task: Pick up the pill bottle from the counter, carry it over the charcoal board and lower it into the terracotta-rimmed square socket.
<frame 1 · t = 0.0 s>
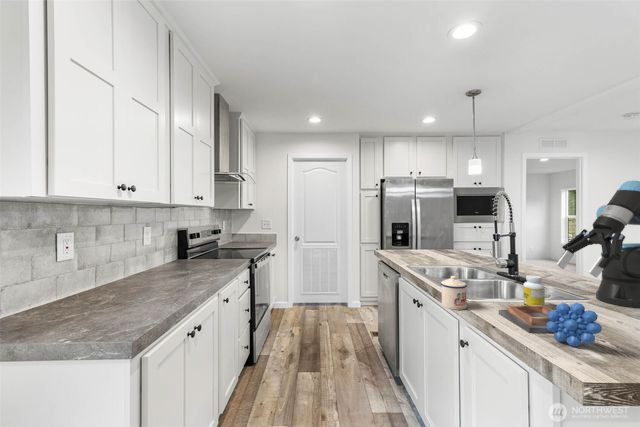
hand: (575, 270, 102), 15 cm above the countertop, tool tilted 35°, fingers open, 13 cm apart
teacup with lid: (456, 306, 113), on the countertop
pill bottle: (533, 307, 110), on the countertop
blue bumpy cluster: (573, 345, 79), on the countertop
socket board: (537, 322, 95), on the countertop
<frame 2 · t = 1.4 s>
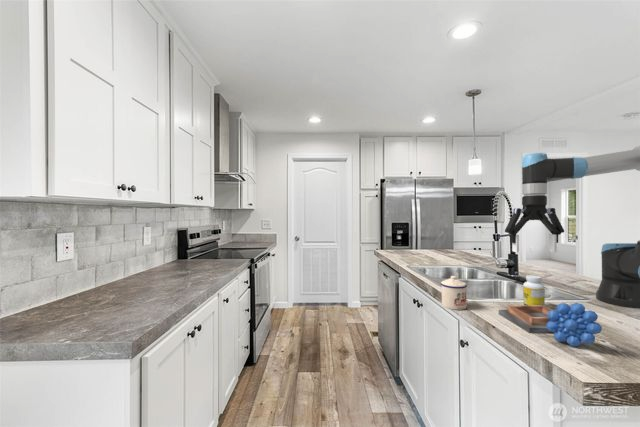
hand: (534, 251, 109), 21 cm above the countertop, tool pointing down, fingers open, 13 cm apart
nothing on the countertop moved.
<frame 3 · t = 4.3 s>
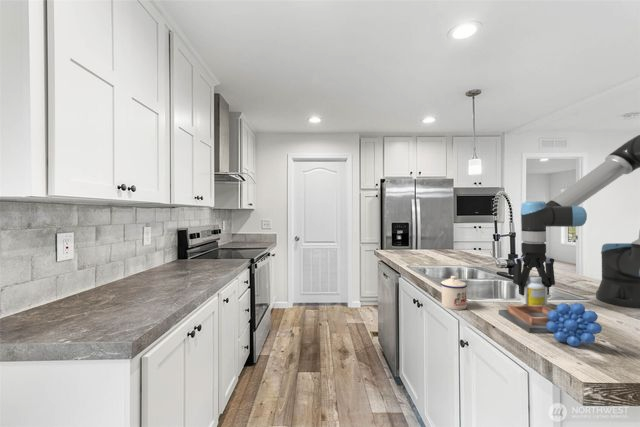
hand: (533, 303, 109), 1 cm above the countertop, tool pointing down, fingers closed on pill bottle, 6 cm apart
pill bottle: (533, 307, 110), on the countertop, touching gripper
everything else where it was.
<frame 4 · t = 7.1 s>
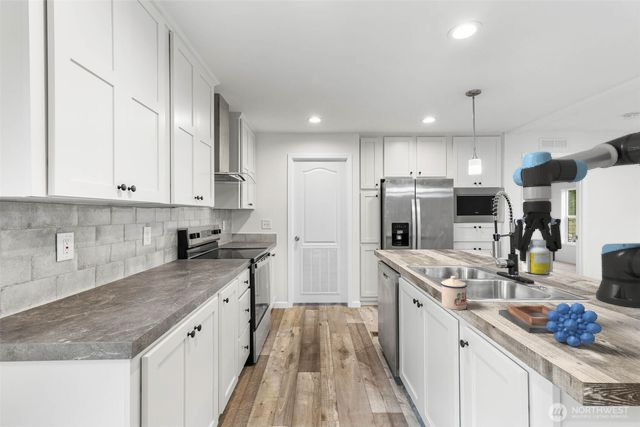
hand: (537, 271, 95), 17 cm above the countertop, tool pointing down, fingers closed on pill bottle, 6 cm apart
pill bottle: (537, 276, 95), point 15 cm above the countertop, touching gripper
everything else where it was.
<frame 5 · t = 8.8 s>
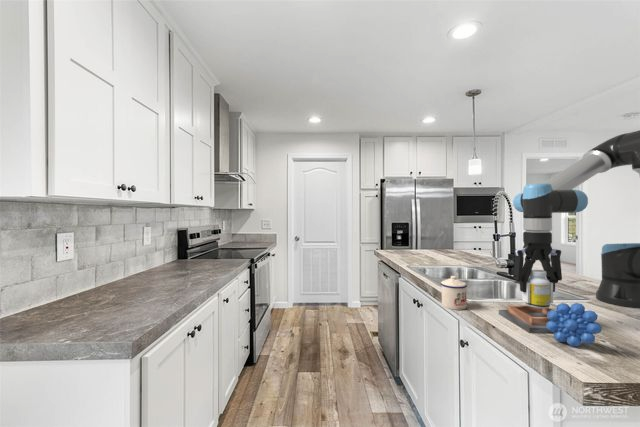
hand: (537, 301, 95), 7 cm above the countertop, tool pointing down, fingers closed on pill bottle, 6 cm apart
pill bottle: (537, 306, 95), point 5 cm above the countertop, touching gripper
everything else where it was.
when the fingers open (5 cm above the countertop, at t = 9.9 s): pill bottle drops 2 cm, resting on socket board.
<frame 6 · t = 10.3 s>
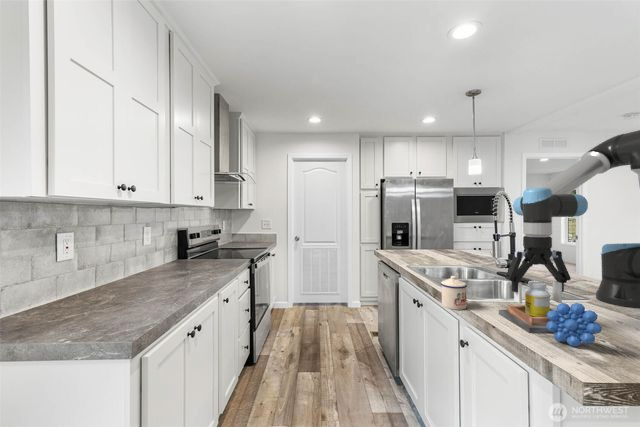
hand: (537, 301, 95), 7 cm above the countertop, tool pointing down, fingers open, 12 cm apart
pill bottle: (537, 318, 95), point 1 cm above the countertop, touching socket board
everything else where it was.
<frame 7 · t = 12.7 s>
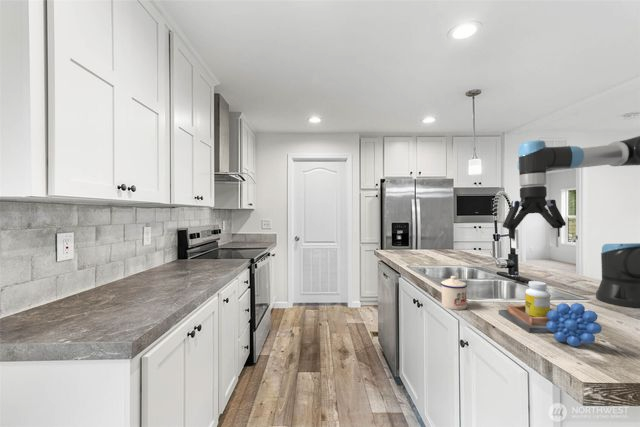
hand: (534, 247, 101), 24 cm above the countertop, tool pointing down, fingers open, 13 cm apart
nothing on the countertop moved.
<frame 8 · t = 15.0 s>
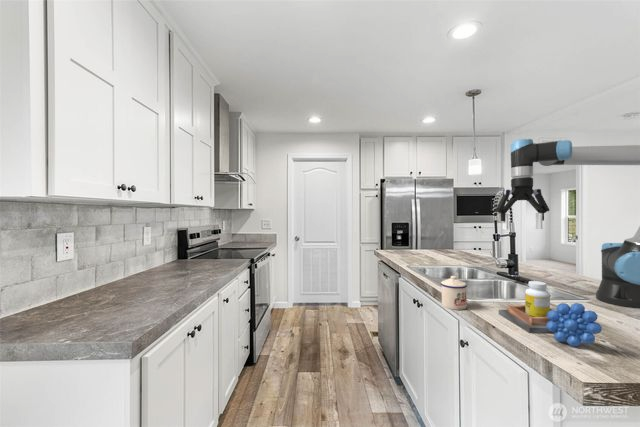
hand: (522, 229, 120), 29 cm above the countertop, tool pointing down, fingers open, 13 cm apart
nothing on the countertop moved.
at the end: pill bottle 0.1 cm off-centre on the socket board, point 1.3 cm above the socket board's base; pill bottle tilted 0°; the gripper is holding nothing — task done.
